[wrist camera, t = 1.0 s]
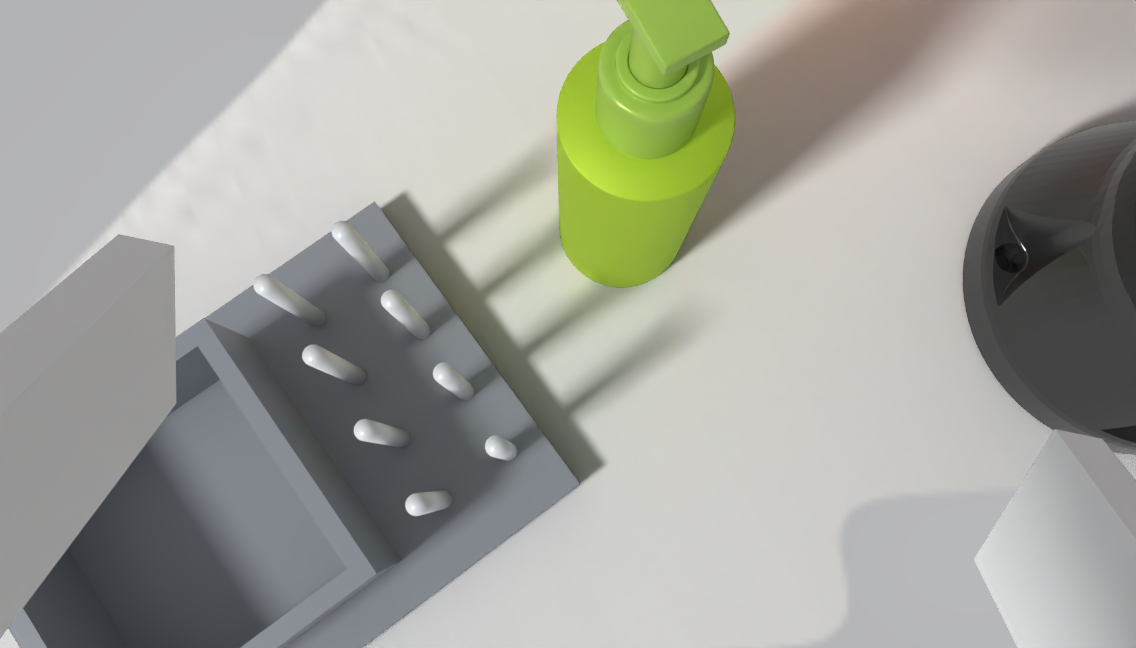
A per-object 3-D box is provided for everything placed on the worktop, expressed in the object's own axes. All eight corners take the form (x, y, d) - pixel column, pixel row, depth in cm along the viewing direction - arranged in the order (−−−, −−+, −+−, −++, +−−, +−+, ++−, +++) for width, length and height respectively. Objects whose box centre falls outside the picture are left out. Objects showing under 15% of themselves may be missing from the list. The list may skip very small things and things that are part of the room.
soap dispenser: (631, 129, 42) (689, -172, 23) (706, 249, 41) (833, 43, 22) (526, 187, 42) (491, -70, 22) (598, 310, 41) (629, 155, 21)
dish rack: (379, 209, 42) (335, 144, 34) (579, 483, 39) (583, 485, 31) (7, 466, 40) (-137, 463, 31) (195, 771, 37) (93, 852, 29)
